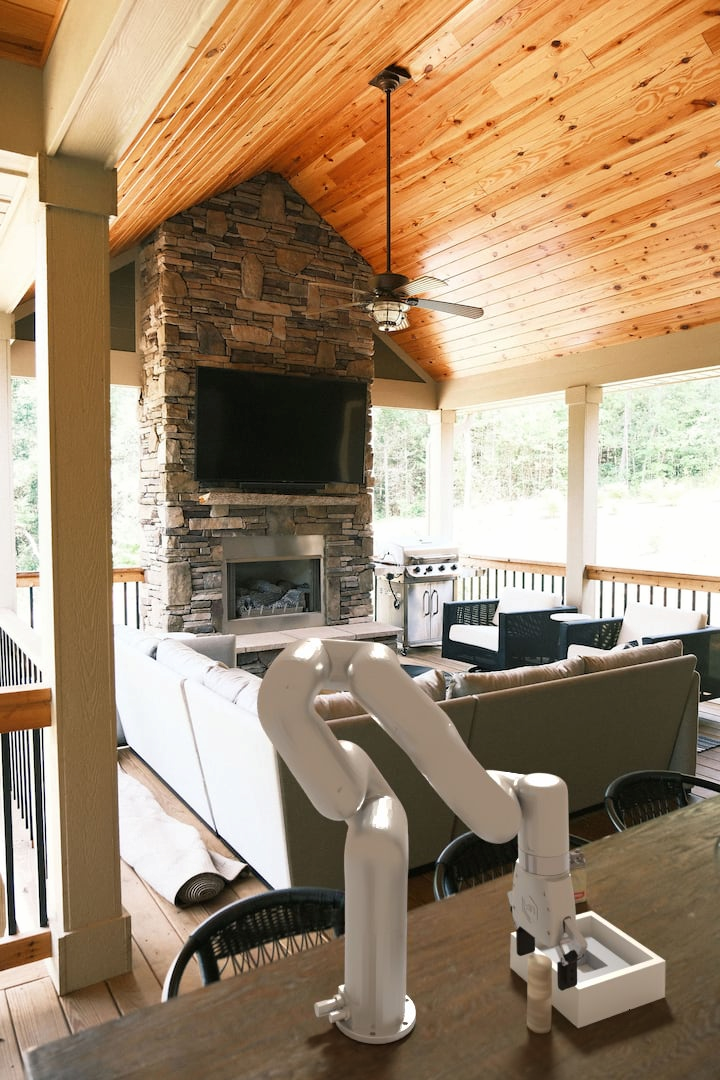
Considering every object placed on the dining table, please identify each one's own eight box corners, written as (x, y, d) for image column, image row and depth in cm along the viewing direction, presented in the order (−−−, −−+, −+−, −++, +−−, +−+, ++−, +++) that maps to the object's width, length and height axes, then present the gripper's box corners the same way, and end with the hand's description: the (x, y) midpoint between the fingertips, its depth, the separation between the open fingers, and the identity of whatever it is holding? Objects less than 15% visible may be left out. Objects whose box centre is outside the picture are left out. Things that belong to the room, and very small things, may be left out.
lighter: (559, 907, 150) (560, 857, 150) (548, 898, 153) (549, 849, 153) (589, 901, 152) (590, 852, 152) (578, 892, 156) (579, 845, 156)
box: (578, 1028, 114) (578, 989, 114) (510, 967, 130) (510, 933, 129) (664, 997, 122) (665, 960, 122) (591, 943, 137) (591, 910, 137)
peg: (536, 1036, 112) (538, 970, 112) (522, 1021, 116) (523, 957, 115) (556, 1029, 114) (557, 964, 114) (540, 1015, 117) (541, 952, 117)
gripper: (489, 842, 120) (492, 947, 121) (562, 889, 105) (564, 1009, 105) (527, 832, 123) (530, 935, 124) (603, 876, 108) (605, 994, 108)
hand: (546, 969), depth 115 cm, fingers open, 9 cm apart
